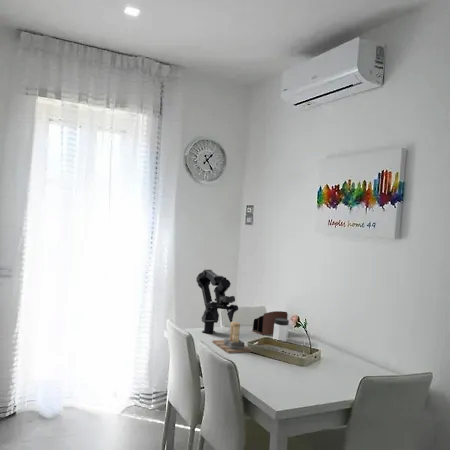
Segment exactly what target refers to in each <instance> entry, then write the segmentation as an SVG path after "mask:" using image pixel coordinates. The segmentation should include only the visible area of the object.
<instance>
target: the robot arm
mask: <svg viewBox="0 0 450 450" xmlns="http://www.w3.org/2000/svg"><path fill="white" fill-rule="evenodd" d="M195 281H196V283H197V286H198V287H199V288H200V289H201V293H202V297H203V303H204V307H205V310H204V312H203V314H202V317H201V322H202V323H203V324H204V327H203V330H202V331H201V332H202V333H204V334H211V335H213V334H214V333H215V332H216V330H214V329H215V324H218V321H219V317H220V314H219V312H218V311H219V310H226V313H227V317H228V320H229V322H230V324H231V322H233V318H234V314H235V313H236V312H237V311H239V306H238V305H237V304H233V303H234V302H236V298H235V297H236V296H234V295H232V296H231V295H230V296H229V295H228V296H227V295H226V292H227V291H228V289H229V288H230V287H231V285H232V284H231V282H230V280H229V279H227V277H226V276H223V275H219V274H216V273H215V272H214V271H213V270H212V269H203V271H201V272H199V273H198V275H197V276H196V280H195ZM210 284H211V285H212V286H214V289H213V293H214V296H215V298H214V301H213V298H212V294H211V290H210ZM230 304H231V305H230ZM218 309H219V310H218Z"/></svg>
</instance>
